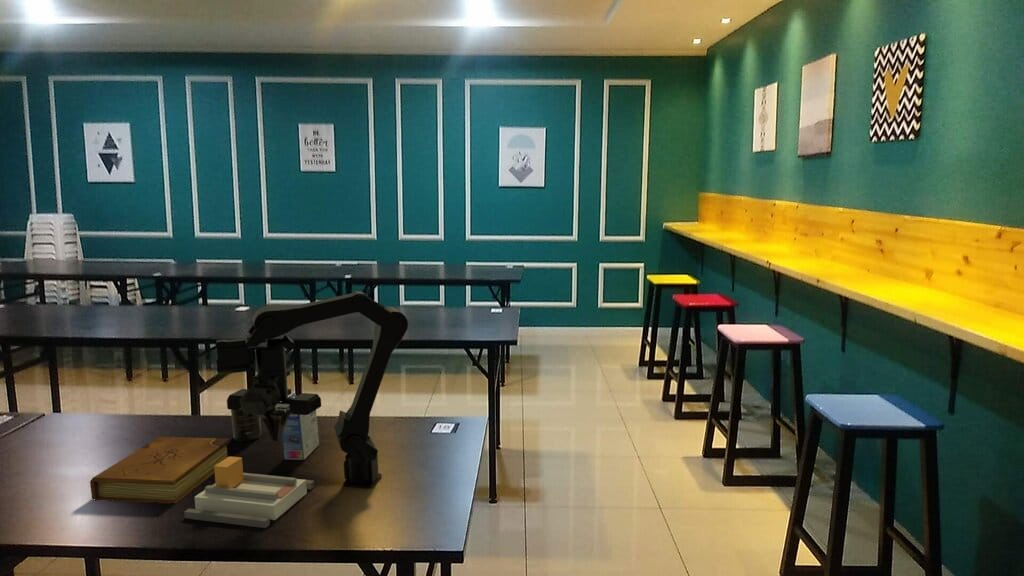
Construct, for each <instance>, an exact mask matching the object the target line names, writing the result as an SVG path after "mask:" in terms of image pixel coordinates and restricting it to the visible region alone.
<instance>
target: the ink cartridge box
mask: <svg viewBox="0 0 1024 576" xmlns="http://www.w3.org/2000/svg"><path fill="white" fill-rule="evenodd" d="M297 396H298V395H297V394H296V393H295V392H293V393H291V394H290V395H288V397H289V398H295V397H297ZM281 438H282V439H281V440H282V449H283V457H284V460H290V461H292V460H293V461H304V460H306V459H307V458H308V457H309V455H310V454H312V452H313V451H314V450H316V448H317V447H318V446H319V445H320V441H319V428H318V417H317V409H316V410H315V411H313V412H312V413H310V414H308V415H297V414H293V413H292V412H291V414H290V416H289V418H288V420H287V422H286V425H285V427H284V430H283V433H282V435H281Z"/></svg>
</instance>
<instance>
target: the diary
mask: <svg viewBox="0 0 1024 576" xmlns="http://www.w3.org/2000/svg"><path fill="white" fill-rule="evenodd" d="M230 443H231V439H230V438H215V437H214V438H213V437H181V436H180V437H178V436H158V437H157V438H154V439H153V440H152V441H150V442H148V443H146V444H145V445H143V446H141V447H140V448H138V449H136V450H135V451H134V452H132V453H130V454H129V455H127V456H126V457H124V458H122V459H121V460H119V461H117V462H115V463H114V464H113V465H110V466H109V467H108V468H106V469H104V470H103V471H101V472H99V473H98V474H97V475H95V476H94V477H93V476H92V478H91V480H90V481H89V483H90V485H89V486H90V493H91V499H92V500H93V499H95V500H94V501H96V500H108V501H107V502H121V501H131V502H130V503H146V502H158V503H157V504H171V503H174V504H175V505H176V504H178V503H180V501H182V500H183V499H184V498H185V497H186V495H187V494H188V495H189V494H190V493H192V492H193V491H194V490H195V489H196V488H198V487H199V486H200V485H201V484H203V483H204V482H206V480H208V479H209V478H210V477H212V476H213V475H215V470H214V466H215V465H216V464H218V463H220V462H221V461H223V460H224V459H226V458H228V457H229V456H228V448H227V445H229V444H230ZM197 486H198V487H197ZM194 488H195V489H194ZM193 489H194V490H193ZM192 490H193V491H192ZM188 495H187V496H188ZM112 500H113V501H112ZM134 501H135V502H134Z"/></svg>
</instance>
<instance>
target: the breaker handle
mask: <svg viewBox="0 0 1024 576" xmlns="http://www.w3.org/2000/svg"><path fill="white" fill-rule="evenodd" d="M227 457H228V458H226V459H224V460H223V461H221V462H220V463H218V464H216V465H215V466H214V470H215V473H214V481H215V483H216V486H219V487H229V488H233V487H235V486H236V485H237V484H239V483H240V482H242V481H243V480H244V477H243V473H244V469H243V468H244V467H243V458H242V457H240V456H227Z"/></svg>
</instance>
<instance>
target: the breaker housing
mask: <svg viewBox="0 0 1024 576" xmlns="http://www.w3.org/2000/svg"><path fill="white" fill-rule="evenodd" d="M243 477H244V480H243V481H242V482H240V483H239V484H237V485H236V486H235V487H233V488H229V487H219V486H216V482H215V483H214V484H211V485H206V486H205V487H204V490H203V491H201V492H200V493H198V494H197V495H195V496H194V505H195V508H194V509H199V510H207V511H216V512H224V513H233V514H241V515H250V516H258V517H267V518H269V519H270V520H271V521H276V520H278V519H279V517H280V516H283V514H284V513H285V512H287V511H288V510H289V509H290V508H291V507H293V506H294V505H295V504H296V503H297V502H298V501H300V500H301V499H302V498H303V497H304V496H306V495H307V494H308V492H307V491H308V489H307V487H306V480H307V479H303V480H302V479H299V478H296V477H291V476H290V477H288V476H281V475H280V476H279V475H269V474H259V473H251V472H249V473H248V472H243Z"/></svg>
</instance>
